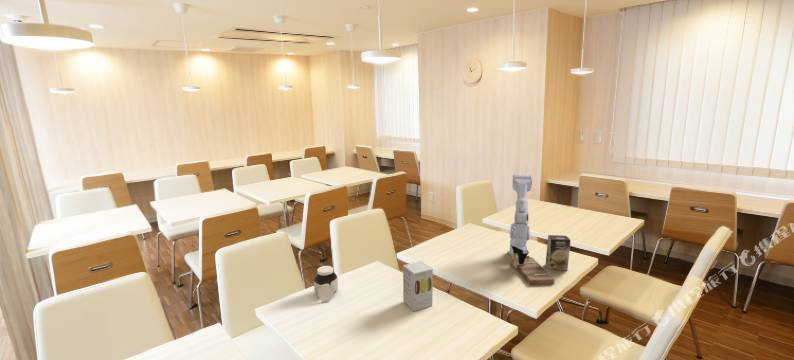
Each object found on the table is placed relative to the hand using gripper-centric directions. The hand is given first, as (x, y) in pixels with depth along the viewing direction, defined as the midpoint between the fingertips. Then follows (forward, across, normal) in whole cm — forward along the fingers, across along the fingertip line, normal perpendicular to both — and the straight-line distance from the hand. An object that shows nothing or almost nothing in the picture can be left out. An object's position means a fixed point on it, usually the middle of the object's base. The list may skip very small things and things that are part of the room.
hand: (519, 261), depth 190 cm
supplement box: (+4, +28, -55) cm, 61 cm away
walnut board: (+3, +6, +4) cm, 8 cm away
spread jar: (+4, +17, -94) cm, 95 cm away
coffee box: (+4, +2, +19) cm, 19 cm away
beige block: (+2, 0, +1) cm, 3 cm away
